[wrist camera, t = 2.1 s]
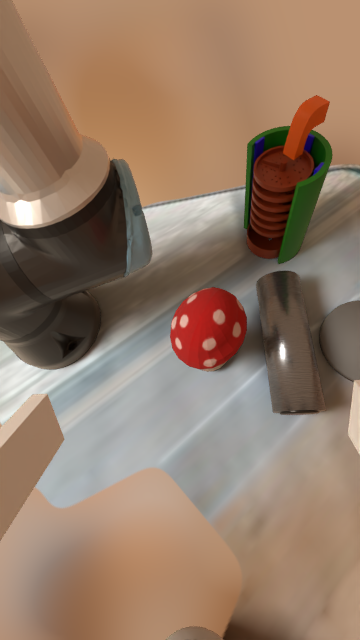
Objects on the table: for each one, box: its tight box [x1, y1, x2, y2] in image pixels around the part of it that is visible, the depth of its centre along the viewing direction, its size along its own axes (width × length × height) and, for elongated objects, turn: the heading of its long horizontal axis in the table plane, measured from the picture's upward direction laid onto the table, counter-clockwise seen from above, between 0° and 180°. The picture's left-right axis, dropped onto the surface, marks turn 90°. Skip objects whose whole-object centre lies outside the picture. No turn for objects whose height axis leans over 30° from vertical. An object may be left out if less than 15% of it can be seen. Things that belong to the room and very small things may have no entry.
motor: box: [244, 95, 332, 264], centre depth 38 cm, size 10×9×20 cm
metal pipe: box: [256, 271, 326, 415], centre depth 37 cm, size 6×18×6 cm, turn 1°
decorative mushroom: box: [170, 287, 247, 372], centre depth 34 cm, size 10×9×15 cm
